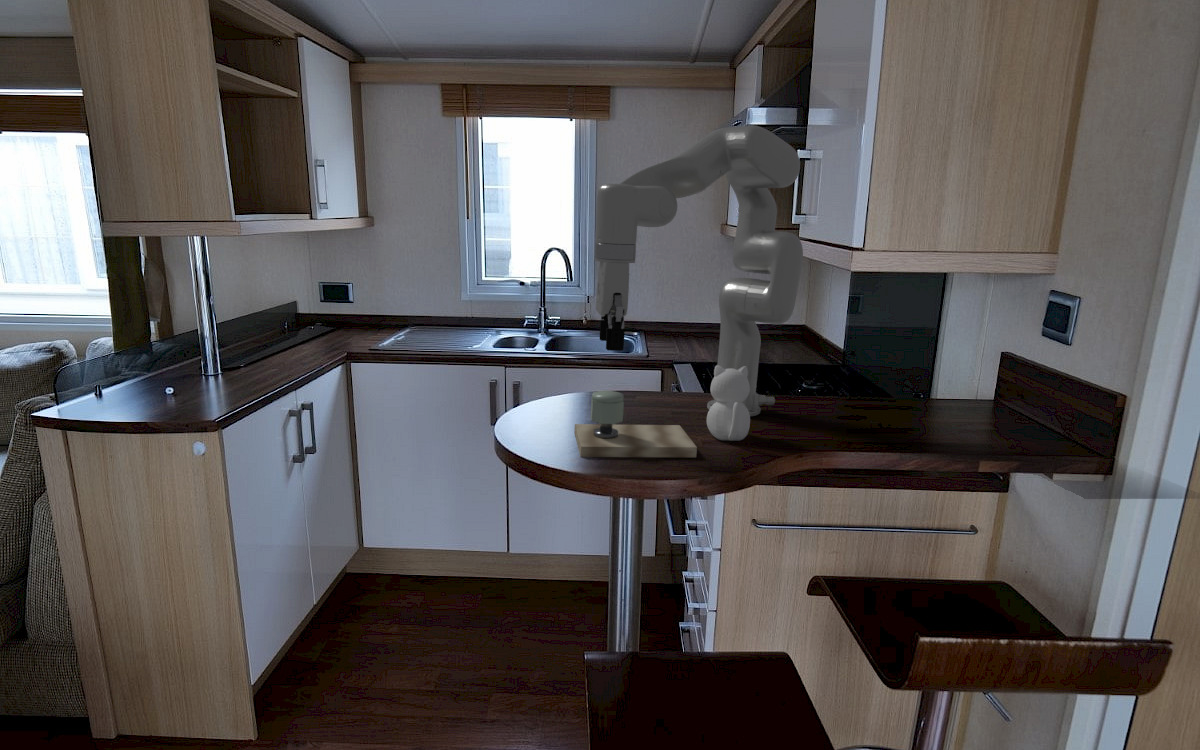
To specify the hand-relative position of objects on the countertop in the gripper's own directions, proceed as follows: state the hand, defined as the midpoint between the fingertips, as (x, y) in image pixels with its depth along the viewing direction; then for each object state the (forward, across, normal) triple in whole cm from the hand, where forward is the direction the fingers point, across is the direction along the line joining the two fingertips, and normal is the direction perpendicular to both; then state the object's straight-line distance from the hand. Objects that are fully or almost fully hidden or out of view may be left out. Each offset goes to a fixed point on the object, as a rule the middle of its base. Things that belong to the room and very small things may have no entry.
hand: (611, 345), depth 126 cm
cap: (+15, 0, 0) cm, 15 cm away
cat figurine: (+20, -5, +26) cm, 33 cm away
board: (+20, 0, +5) cm, 21 cm away
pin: (+18, 0, 0) cm, 18 cm away
